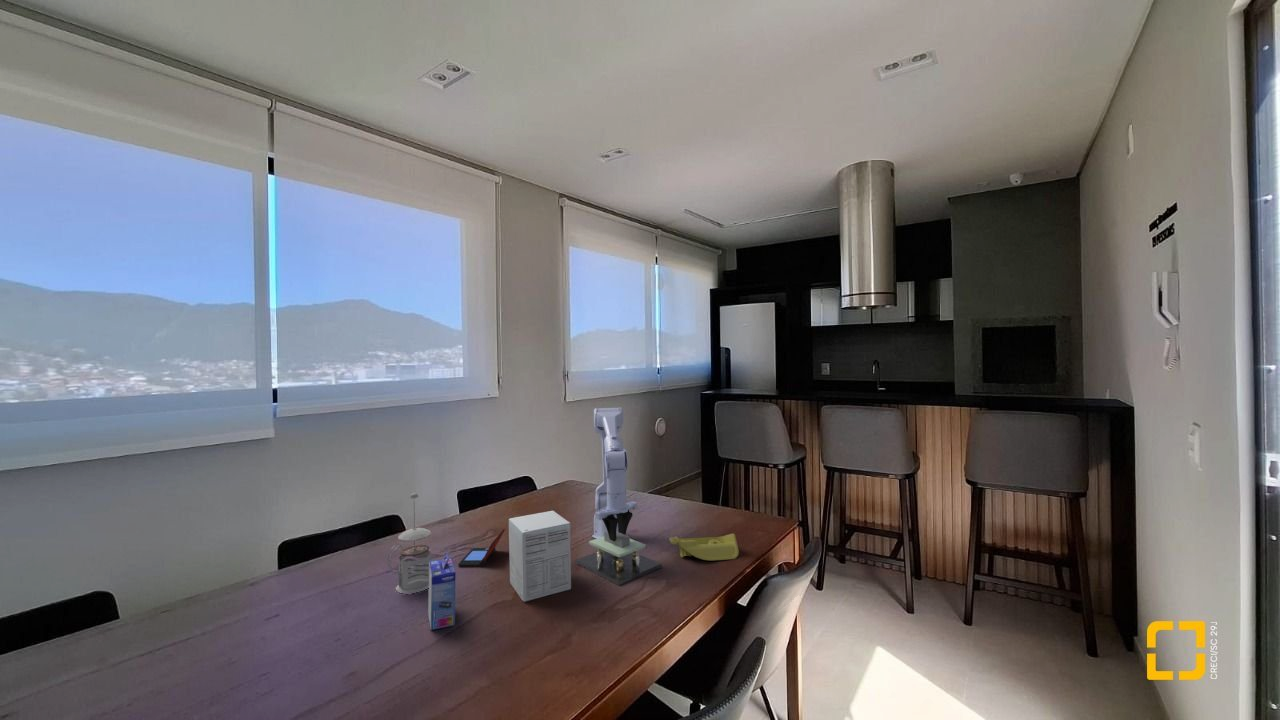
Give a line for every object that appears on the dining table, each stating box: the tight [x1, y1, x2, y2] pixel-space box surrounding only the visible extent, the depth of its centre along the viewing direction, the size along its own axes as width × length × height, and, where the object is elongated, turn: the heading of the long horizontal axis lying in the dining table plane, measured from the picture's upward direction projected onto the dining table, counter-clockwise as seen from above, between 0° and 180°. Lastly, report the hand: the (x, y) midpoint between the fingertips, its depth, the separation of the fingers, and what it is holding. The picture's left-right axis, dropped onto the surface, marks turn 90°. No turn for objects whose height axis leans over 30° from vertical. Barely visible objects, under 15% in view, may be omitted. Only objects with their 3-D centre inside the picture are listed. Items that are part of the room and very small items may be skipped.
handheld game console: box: [457, 528, 506, 568], centre depth 144 cm, size 12×11×7 cm
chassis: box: [575, 548, 662, 586], centre depth 138 cm, size 20×16×5 cm
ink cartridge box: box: [427, 552, 457, 631], centre depth 111 cm, size 10×6×14 cm, turn 27°
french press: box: [386, 492, 432, 594], centre depth 127 cm, size 10×12×25 cm
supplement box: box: [508, 510, 572, 603], centre depth 126 cm, size 13×13×18 cm
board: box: [588, 531, 647, 557], centre depth 138 cm, size 14×10×3 cm
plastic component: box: [668, 533, 740, 562], centre depth 144 cm, size 20×7×10 cm
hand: (617, 538), depth 138 cm, fingers closed on board, 3 cm apart
